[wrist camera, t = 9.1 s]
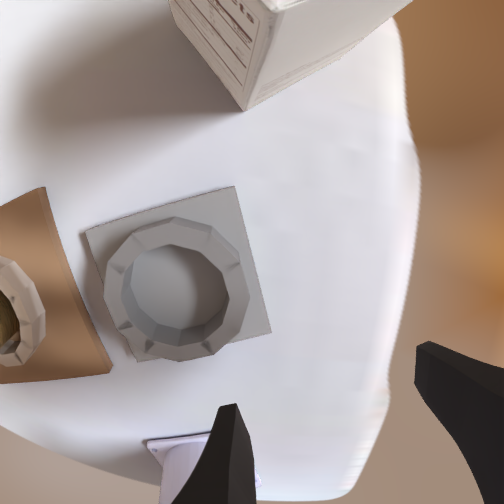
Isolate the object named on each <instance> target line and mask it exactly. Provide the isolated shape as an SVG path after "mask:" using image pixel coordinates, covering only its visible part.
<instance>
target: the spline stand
mask: <svg viewBox="0 0 504 504" xmlns="http://www.w3.org/2000/svg"><path fill="white" fill-rule="evenodd" d="M85 233H86V236H87V239H88V242H89V245H90V248H91V251H92V254H93V257H94V260H95V263H96V266H97V268H98V271H99V274H100V277H101V279H102V282H103V285H104V293H103V298H104V301H105V303H106V306H107V308H108V310H109V313H110V315H111V318H112V320H113V322H114V324H115V327H116V329H117V330H118V331H119V332H120V333H121V334H122V335H123V336H125V337H126V339H127V341H128V344H129V346H130V348H131V350H132V352H133V354H134V356H135V358H136V360H137V362H142V361H148V360H153V359H158V358H165V359H169V360H173V361H177V362H182V361H187V360H192V359H196V358H201V357H206V356H210V355H214V354H215V353H216V352H217V351H219V350H220V349H221V348H222V347H223V346H224V345H226V344H229V343H233V342H237V341H241V340H245V339H249V338H253V337H257V336H261V335H265V334H269V333H272V331H271V327H270V323H269V319H268V315H267V311H266V307H265V303H264V299H263V296H262V292H261V288H260V284H259V280H258V276H257V272H256V268H255V264H254V260H253V256H252V252H251V248H250V244H249V240H248V236H247V232H246V229H245V225H244V221H243V217H242V213H241V209H240V205H239V201H238V197H237V193H236V189H235V186H232V187H228V188H224V189H220V190H216V191H213V192H209V193H205V194H202V195H198V196H194V197H191V198H187V199H184V200H180V201H177V202H173V203H170V204H166V205H163V206H159V207H156V208H153V209H149V210H146V211H143V212H140V213H136V214H133V215H130V216H127V217H124V218H121V219H117V220H114V221H111V222H108V223H105V224H102V225H99V226H96V227H93V228H91V229H89V230H87V231H85Z"/></svg>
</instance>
